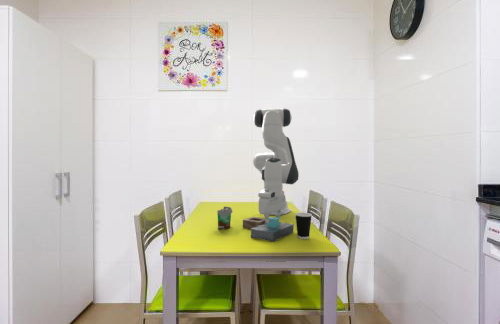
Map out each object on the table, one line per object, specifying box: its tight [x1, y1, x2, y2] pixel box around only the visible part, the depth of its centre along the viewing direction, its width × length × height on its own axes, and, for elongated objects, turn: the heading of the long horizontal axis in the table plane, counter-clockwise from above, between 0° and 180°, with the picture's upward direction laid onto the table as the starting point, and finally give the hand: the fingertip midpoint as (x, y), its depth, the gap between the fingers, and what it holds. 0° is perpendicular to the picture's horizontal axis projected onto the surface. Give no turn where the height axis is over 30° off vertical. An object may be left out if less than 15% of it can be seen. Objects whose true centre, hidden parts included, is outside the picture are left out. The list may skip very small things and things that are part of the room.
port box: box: [250, 221, 295, 242], centre depth 149 cm, size 20×12×4 cm, turn 146°
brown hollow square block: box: [242, 216, 266, 230], centre depth 164 cm, size 10×10×4 cm
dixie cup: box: [294, 212, 313, 240], centre depth 144 cm, size 8×8×11 cm
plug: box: [267, 216, 280, 228], centre depth 149 cm, size 3×5×8 cm, turn 56°
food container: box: [216, 206, 233, 230], centre depth 162 cm, size 12×6×10 cm, turn 168°
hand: (273, 220), depth 149 cm, fingers open, 8 cm apart
